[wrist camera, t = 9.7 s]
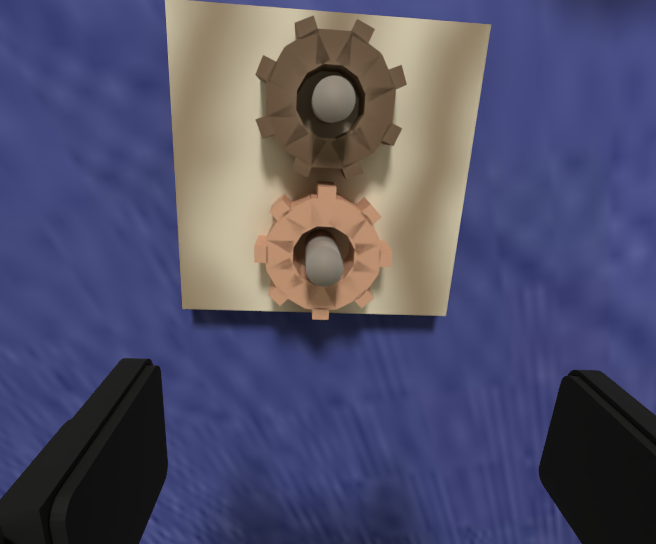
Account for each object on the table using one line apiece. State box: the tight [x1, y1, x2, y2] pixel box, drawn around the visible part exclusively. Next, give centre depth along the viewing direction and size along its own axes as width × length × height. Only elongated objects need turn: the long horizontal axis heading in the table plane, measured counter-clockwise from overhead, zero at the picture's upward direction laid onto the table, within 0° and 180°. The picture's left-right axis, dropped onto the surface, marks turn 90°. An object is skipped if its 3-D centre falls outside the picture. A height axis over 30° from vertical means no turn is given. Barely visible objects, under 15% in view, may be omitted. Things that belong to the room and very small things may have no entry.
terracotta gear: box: [254, 181, 393, 320], centre depth 23 cm, size 7×7×2 cm
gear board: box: [165, 0, 491, 316], centre depth 22 cm, size 16×16×6 cm
